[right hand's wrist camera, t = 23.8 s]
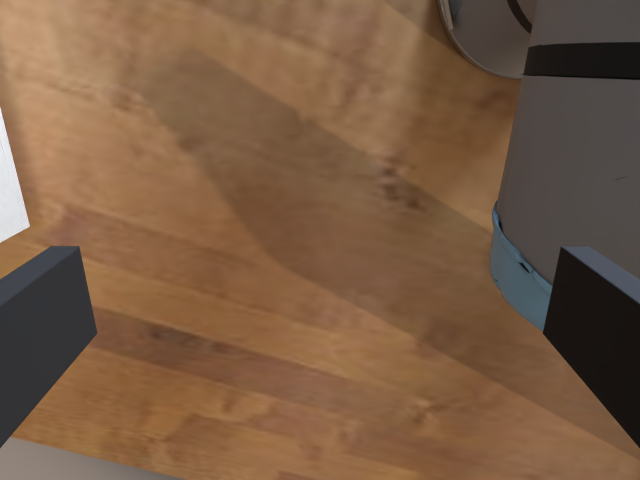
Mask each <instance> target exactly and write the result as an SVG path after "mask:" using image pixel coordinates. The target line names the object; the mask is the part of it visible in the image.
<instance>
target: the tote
mask: <svg viewBox="0 0 640 480" xmlns="http://www.w3.org/2000/svg"><path fill="white" fill-rule="evenodd" d="M28 227H30V225H29V221H28V217H27V213H26V209H25V205H24V201H23V197H22V193H21V189H20V185H19V181H18V177H17V173H16V169H15V165H14V161H13V157H12V153H11V149H10V145H9V141H8V137H7V133H6V129H5V125H4V121H3V117H2V113H1V109H0V243H1V242H2V241H4V240H6V239H8V238H10V237H12V236H13V235H15V234H17V233H19V232H21V231H23V230H24V229H26V228H28Z"/></svg>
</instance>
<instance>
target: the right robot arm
mask: <svg viewBox="0 0 640 480" xmlns="http://www.w3.org/2000/svg"><path fill="white" fill-rule="evenodd" d="M437 6H438V11H439V15H440V18H441V22H442V24H443V27H444V29H445V32H446V33H447V35H448V37H449V39H450V41H451V42H452V44H453V45H454V47H455V48H456V49H457V50H458V52H459V53H460V54H461V55H462V56H463V57H464V58H465V59H466V60H467V61H469V62H470V63H471V64H473V65H474V66H476V67H477V68H479V69H481V70H483V71H485V72H487V73H489V74H492V75H495V76H499V77H504V78H511V79H521V85H520V90H519V95H518V100H517V106H516V111H515V116H514V122H513V127H512V132H511V138H510V143H509V148H508V153H507V158H506V163H505V168H504V172H503V177H502V182H501V187H500V191H499V196H498V200H497V201H496V203H495V206H494V208H493V212H492V221H493V226H494V229H493V237H492V244H491V251H490V259H489V264H490V271H491V275H492V278H493V281H494V282H495V284H496V286H497V287H498V289H499V290H500V291H501V292H502V295H503V297H504V299H505V300H506V301H507V302H508V303H509V304H510V305H511V306H512V307H513V308H514V309H515V310H516V311H517V312H518V313H519V314H520V315H521V316H522V317H523V318H525V319H526V320H527V321H528V322H530V323H531V324H532V325H534V326H535V327H537V328H538V329H540V330H541V331H543V334H544V335H545V337H546V338H547V339H548V340H549V341H550V342H551V344H552V345H553V346H554V347H555V348H556V350H557V351H558V352H559V353H560V354H561V355H562V357H563V358H564V359H565V360H566V361H567V363H568V364H569V365H570V366H571V367H572V368H573V370H574V371H575V372H576V373H577V374H578V376H579V377H580V378H581V379H582V380H583V381H584V383H585V384H586V385H587V386H588V387H589V389H590V390H591V391H592V392H593V393H594V395H595V396H596V397H597V398H598V399H599V400H600V402H601V403H602V404H603V405H604V406H605V408H606V409H607V410H608V411H609V412H610V413H611V415H612V416H613V417H614V418H615V419H616V421H617V422H618V423H619V424H620V425H621V426H622V428H623V429H624V430H625V431H626V432H627V434H628V435H629V436H630V437H631V438H632V439H633V441H634V442H635V443H636V444H637V445H638V447H639V448H640V0H437ZM548 76H549V77H548ZM96 334H97V329H96V325H95V320H94V315H93V310H92V305H91V301H90V296H89V291H88V286H87V282H86V277H85V272H84V267H83V262H82V258H81V253H80V248H79V246H51V247H49V248H48V249H46V250H45V251H43V252H42V253H40V254H39V255H37V256H36V257H34V258H33V259H31V260H29V261H28V262H26V263H25V264H23V265H22V266H20V267H19V268H17V269H16V270H14V271H13V272H11V273H10V274H8V275H7V276H5V277H4V278H2V279H1V280H0V448H1V447H2V445H3V444H4V443H5V442H6V441H7V439H8V438H9V437H10V436H11V435H12V434H13V432H14V431H15V430H16V429H17V428H18V426H19V425H20V424H21V423H22V422H23V421H24V419H25V418H26V417H27V416H28V415H29V413H30V412H31V411H32V410H33V409H34V408H35V406H36V405H37V404H38V403H39V402H40V400H41V399H42V398H43V397H44V396H45V395H46V393H47V392H48V391H49V390H50V389H51V387H52V386H53V385H54V384H55V383H56V381H57V380H58V379H59V378H60V377H61V376H62V374H63V373H64V372H65V371H66V370H67V368H68V367H69V366H70V365H71V364H72V363H73V361H74V360H75V359H76V358H77V357H78V355H79V354H80V353H81V352H82V351H83V350H84V348H85V347H86V346H87V345H88V344H89V342H90V341H91V340H92V339H93V338H94V337H95V335H96Z"/></svg>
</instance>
